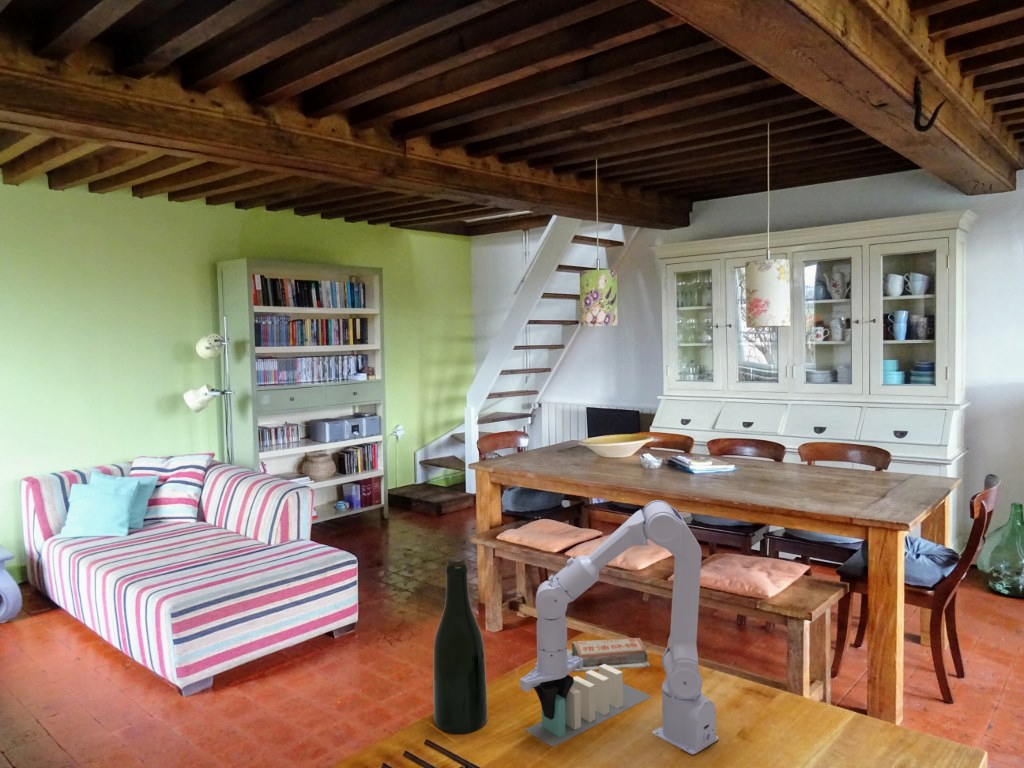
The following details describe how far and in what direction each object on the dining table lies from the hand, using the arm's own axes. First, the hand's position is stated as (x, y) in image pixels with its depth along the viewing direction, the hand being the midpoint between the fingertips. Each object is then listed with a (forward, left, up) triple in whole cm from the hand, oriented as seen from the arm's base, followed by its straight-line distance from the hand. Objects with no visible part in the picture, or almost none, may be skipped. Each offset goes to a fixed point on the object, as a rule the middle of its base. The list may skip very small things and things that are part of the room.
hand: (553, 715), depth 141 cm
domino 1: (0, 0, -3) cm, 3 cm away
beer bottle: (+15, +11, -4) cm, 19 cm away
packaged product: (+14, -30, -4) cm, 33 cm away
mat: (0, -10, -3) cm, 11 cm away
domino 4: (0, -12, -3) cm, 12 cm away
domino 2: (0, -4, -3) cm, 5 cm away
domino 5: (0, -16, -3) cm, 16 cm away
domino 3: (0, -8, -3) cm, 9 cm away
